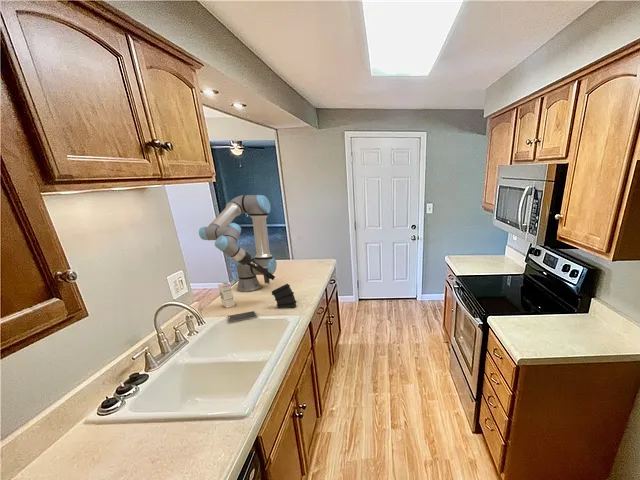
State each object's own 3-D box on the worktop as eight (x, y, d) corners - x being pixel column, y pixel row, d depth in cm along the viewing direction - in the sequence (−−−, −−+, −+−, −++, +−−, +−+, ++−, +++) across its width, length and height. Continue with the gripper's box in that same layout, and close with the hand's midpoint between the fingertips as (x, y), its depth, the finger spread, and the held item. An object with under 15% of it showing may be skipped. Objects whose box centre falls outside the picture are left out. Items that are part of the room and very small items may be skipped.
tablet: (228, 317, 189) (227, 315, 188) (254, 312, 195) (253, 310, 195) (229, 323, 182) (229, 321, 181) (256, 317, 188) (256, 315, 188)
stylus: (264, 283, 208) (261, 267, 204) (269, 283, 209) (267, 266, 206) (265, 285, 206) (262, 268, 202) (270, 284, 207) (267, 267, 203)
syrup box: (235, 305, 206) (231, 283, 201) (225, 308, 202) (221, 285, 197) (231, 303, 210) (227, 281, 205) (222, 305, 206) (217, 283, 201)
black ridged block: (299, 305, 201) (286, 284, 196) (281, 314, 203) (267, 293, 199) (301, 303, 205) (288, 282, 200) (283, 311, 207) (270, 291, 202)
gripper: (232, 259, 196) (263, 280, 213) (243, 263, 186) (275, 285, 203) (239, 249, 198) (270, 270, 215) (251, 253, 188) (282, 275, 205)
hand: (272, 277), depth 209 cm, fingers closed on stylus, 3 cm apart
